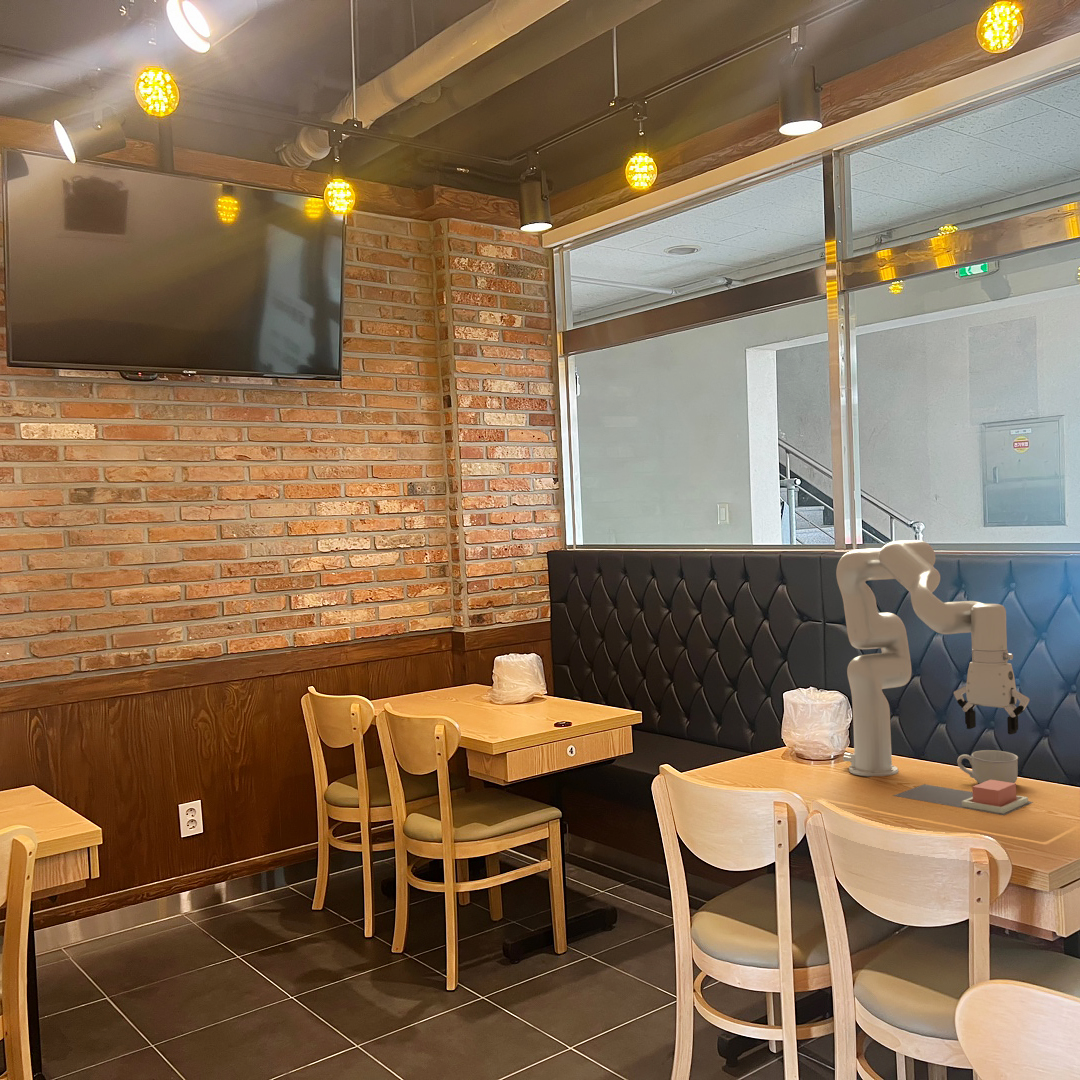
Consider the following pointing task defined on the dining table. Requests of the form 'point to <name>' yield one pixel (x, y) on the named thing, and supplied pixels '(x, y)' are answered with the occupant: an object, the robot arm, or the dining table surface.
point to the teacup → (991, 766)
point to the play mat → (944, 796)
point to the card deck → (994, 793)
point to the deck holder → (1003, 809)
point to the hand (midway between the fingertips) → (991, 730)
